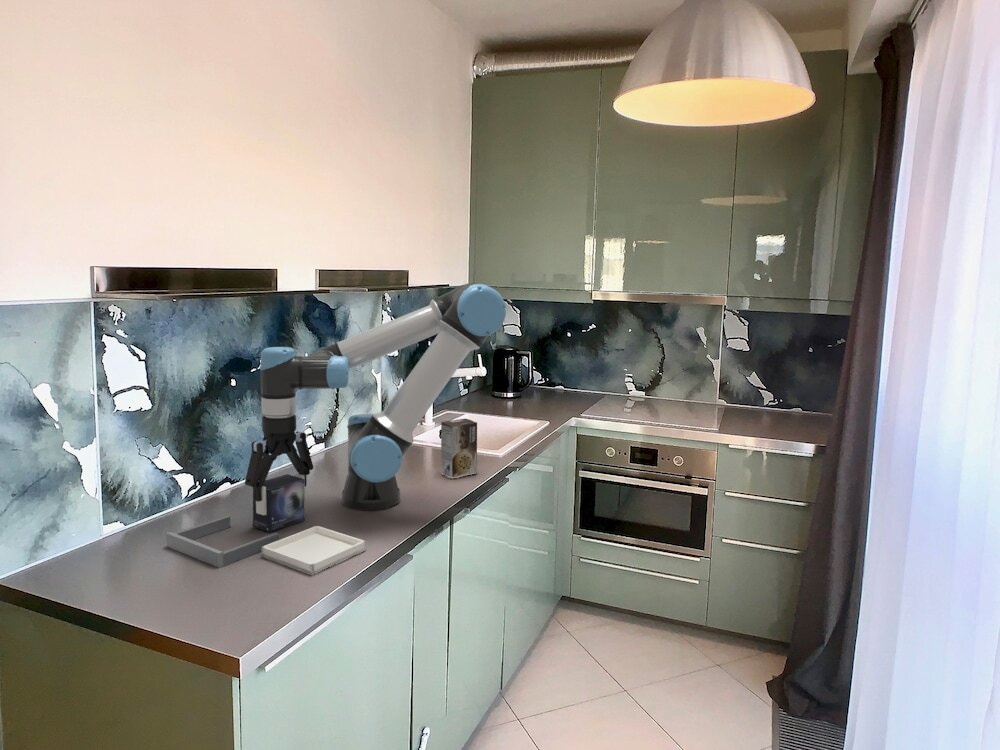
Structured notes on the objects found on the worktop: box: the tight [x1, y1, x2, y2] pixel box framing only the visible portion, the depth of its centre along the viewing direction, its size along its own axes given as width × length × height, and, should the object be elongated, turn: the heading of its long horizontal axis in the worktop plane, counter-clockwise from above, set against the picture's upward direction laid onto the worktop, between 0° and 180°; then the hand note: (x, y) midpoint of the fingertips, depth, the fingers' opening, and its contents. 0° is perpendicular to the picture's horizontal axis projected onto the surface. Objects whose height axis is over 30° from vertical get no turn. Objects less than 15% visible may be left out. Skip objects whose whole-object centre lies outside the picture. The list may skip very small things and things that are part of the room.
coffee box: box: [440, 418, 478, 477], centre depth 206 cm, size 9×6×16 cm
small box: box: [252, 473, 305, 533], centre depth 164 cm, size 11×6×10 cm, turn 147°
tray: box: [260, 525, 367, 576], centre depth 148 cm, size 15×15×2 cm
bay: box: [165, 515, 280, 568], centre depth 151 cm, size 15×18×3 cm
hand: (281, 507), depth 163 cm, fingers closed on small box, 10 cm apart
